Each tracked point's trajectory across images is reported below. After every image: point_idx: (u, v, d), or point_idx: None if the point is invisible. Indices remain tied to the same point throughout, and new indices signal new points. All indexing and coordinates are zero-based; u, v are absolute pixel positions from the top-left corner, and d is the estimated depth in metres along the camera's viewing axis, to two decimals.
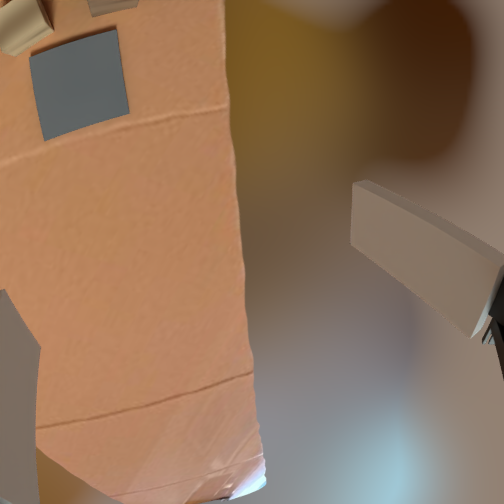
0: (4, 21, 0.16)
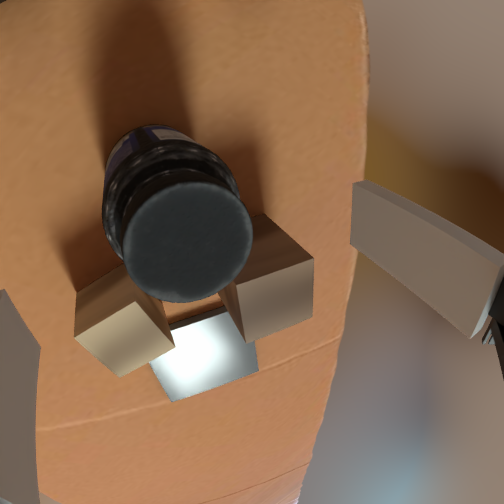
0: (107, 346, 0.18)
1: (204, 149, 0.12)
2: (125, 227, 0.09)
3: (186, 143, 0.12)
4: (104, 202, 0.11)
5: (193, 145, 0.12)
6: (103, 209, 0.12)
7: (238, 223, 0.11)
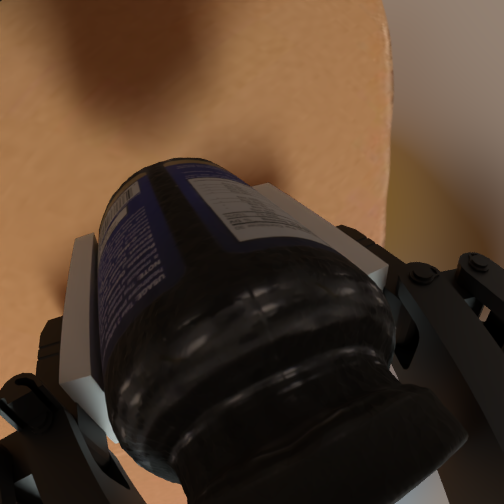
0: None
1: (358, 275, 0.05)
2: None
3: (322, 265, 0.05)
4: (111, 413, 0.04)
5: (337, 269, 0.05)
6: (112, 423, 0.04)
7: None
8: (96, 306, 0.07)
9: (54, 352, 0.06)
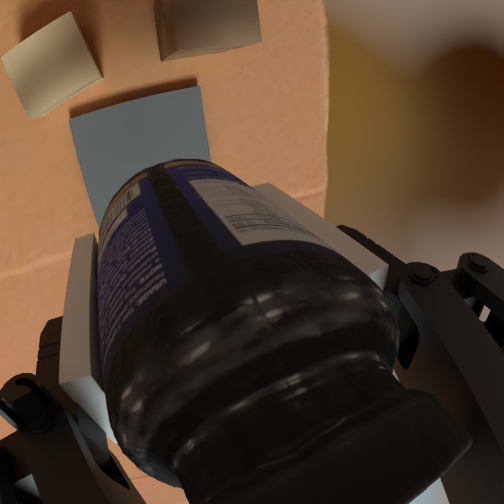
0: (28, 67, 0.12)
1: (362, 279, 0.05)
2: None
3: (326, 270, 0.04)
4: (113, 418, 0.04)
5: (342, 273, 0.05)
6: (113, 429, 0.04)
7: None
8: (96, 306, 0.07)
9: (54, 352, 0.06)
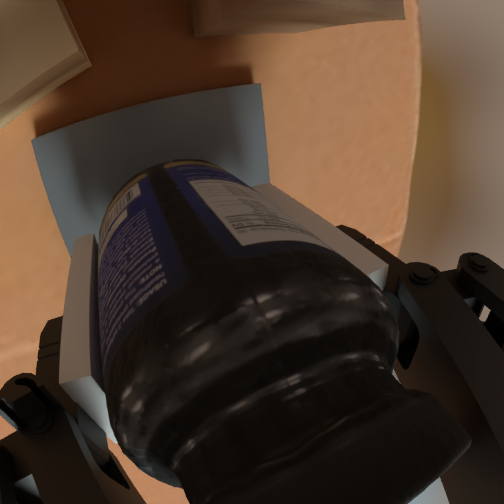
0: None
1: (362, 279, 0.05)
2: None
3: (326, 270, 0.04)
4: (113, 418, 0.04)
5: (341, 274, 0.05)
6: (114, 429, 0.04)
7: None
8: (96, 306, 0.07)
9: (54, 352, 0.06)
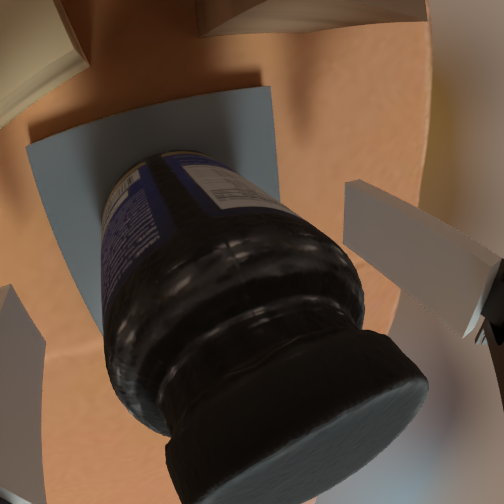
0: None
1: (322, 238, 0.06)
2: (194, 494, 0.03)
3: (289, 227, 0.06)
4: (109, 356, 0.05)
5: (303, 231, 0.06)
6: (109, 368, 0.05)
7: (408, 413, 0.05)
8: None
9: None
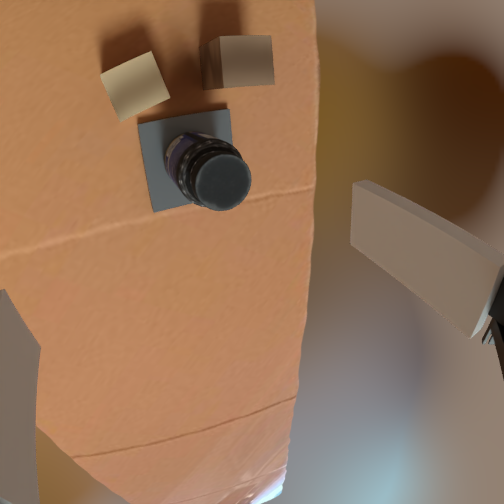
0: (120, 85, 0.23)
1: None
2: (198, 170, 0.23)
3: (221, 140, 0.26)
4: (180, 164, 0.25)
5: (224, 141, 0.26)
6: (179, 167, 0.25)
7: (245, 174, 0.24)
8: None
9: None
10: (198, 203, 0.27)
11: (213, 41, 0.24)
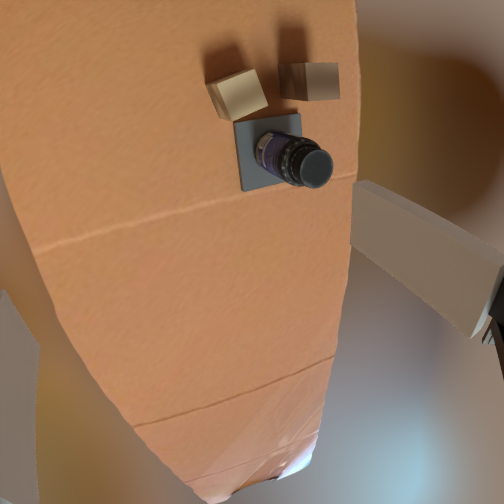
0: (233, 94, 0.33)
1: None
2: (302, 160, 0.33)
3: (309, 139, 0.36)
4: (283, 155, 0.35)
5: (311, 140, 0.36)
6: (282, 157, 0.35)
7: (329, 163, 0.35)
8: None
9: None
10: (293, 183, 0.37)
11: (297, 64, 0.34)
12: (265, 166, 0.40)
